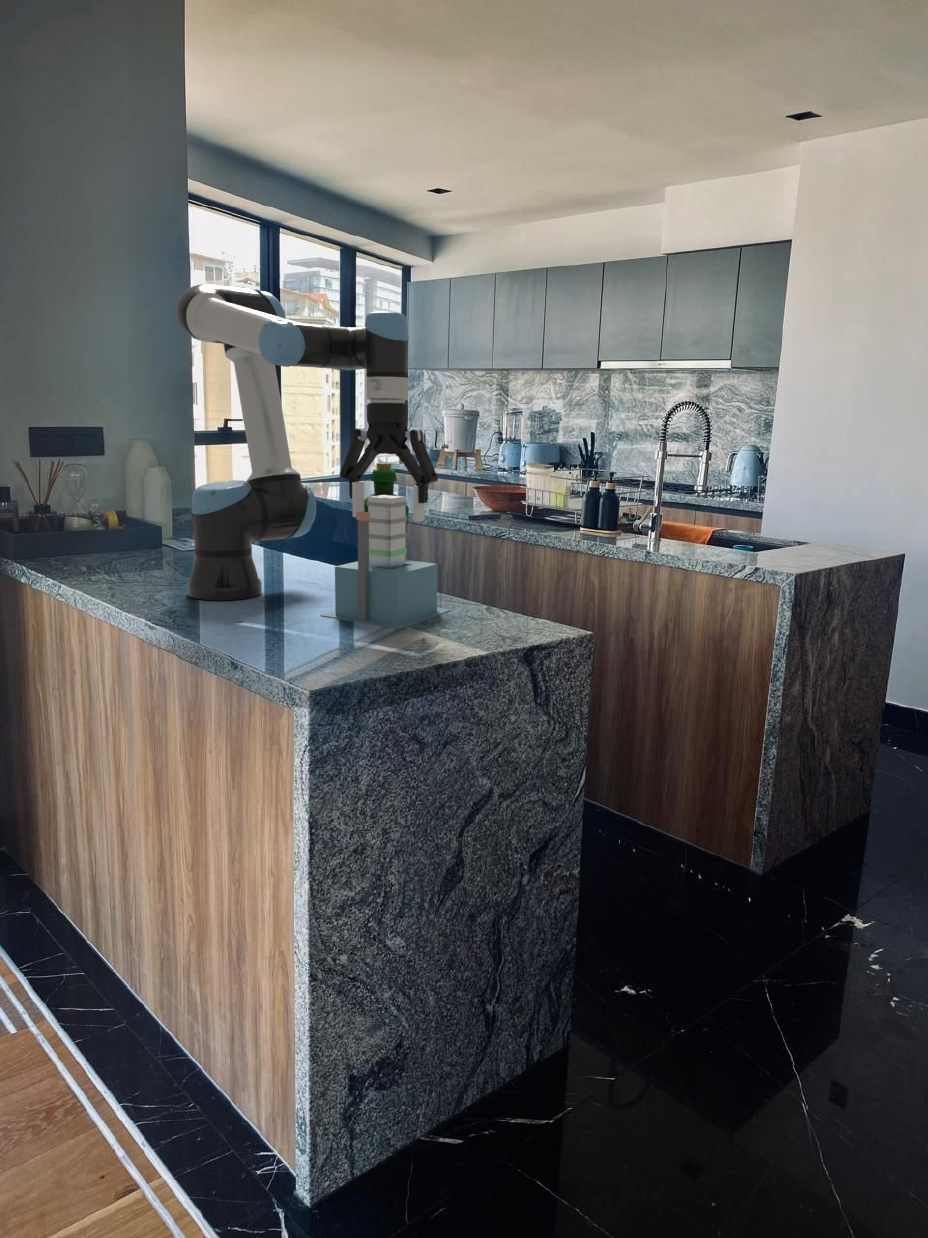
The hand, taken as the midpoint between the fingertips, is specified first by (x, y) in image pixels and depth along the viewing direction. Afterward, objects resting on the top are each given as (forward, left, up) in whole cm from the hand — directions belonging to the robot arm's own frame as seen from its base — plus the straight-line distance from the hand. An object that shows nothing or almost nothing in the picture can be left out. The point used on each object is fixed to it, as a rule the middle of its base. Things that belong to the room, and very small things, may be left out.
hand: (388, 518), depth 164 cm
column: (0, 0, -18) cm, 18 cm away
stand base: (0, 0, -19) cm, 19 cm away
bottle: (-11, +15, -19) cm, 27 cm away
